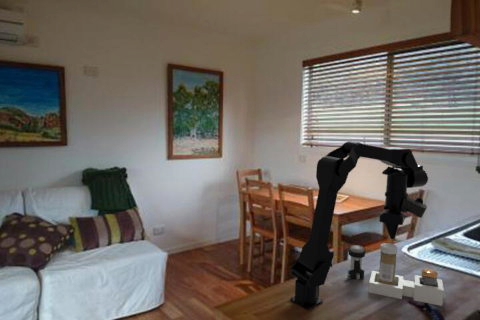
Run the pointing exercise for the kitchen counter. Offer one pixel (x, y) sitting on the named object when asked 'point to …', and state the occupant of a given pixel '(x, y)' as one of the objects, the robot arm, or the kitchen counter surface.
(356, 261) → the push button
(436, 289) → the housing
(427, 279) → the copper and black cylinder
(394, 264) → the sprinkles bottle
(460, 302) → the kitchen counter surface
